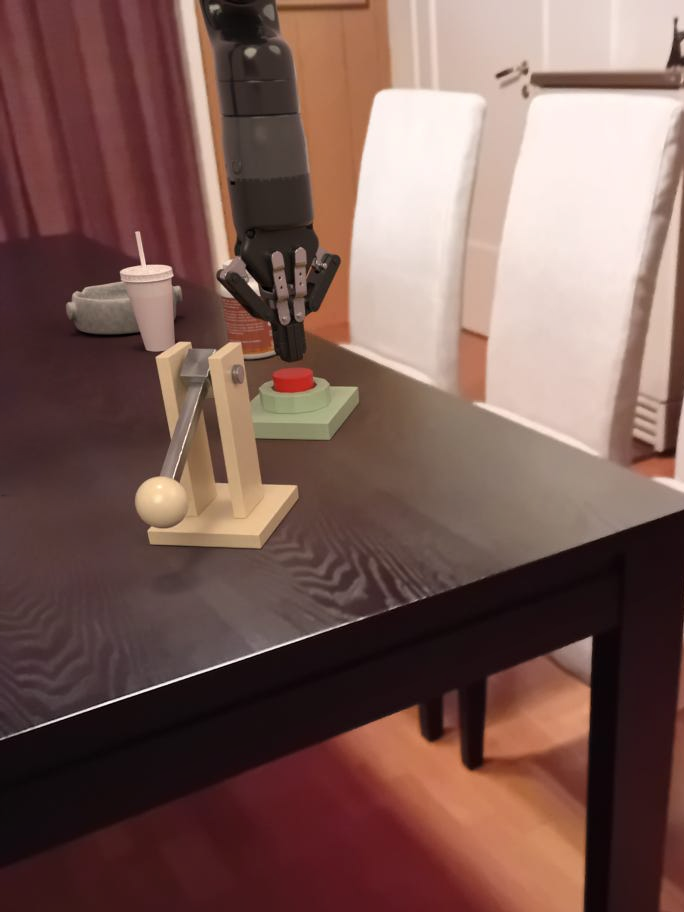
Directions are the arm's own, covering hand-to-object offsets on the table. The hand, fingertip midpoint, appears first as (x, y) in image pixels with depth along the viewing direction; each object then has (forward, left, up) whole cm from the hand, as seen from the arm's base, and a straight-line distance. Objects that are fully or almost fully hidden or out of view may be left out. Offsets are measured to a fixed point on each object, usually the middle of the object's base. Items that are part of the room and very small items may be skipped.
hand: (291, 360), depth 101 cm
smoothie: (+3, +38, -6) cm, 39 cm away
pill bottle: (+10, +26, -6) cm, 29 cm away
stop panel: (0, 0, -6) cm, 6 cm away
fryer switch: (-18, -18, -6) cm, 26 cm away
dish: (+5, +53, -6) cm, 54 cm away
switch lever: (-21, -21, +1) cm, 30 cm away
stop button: (0, 0, -3) cm, 3 cm away
